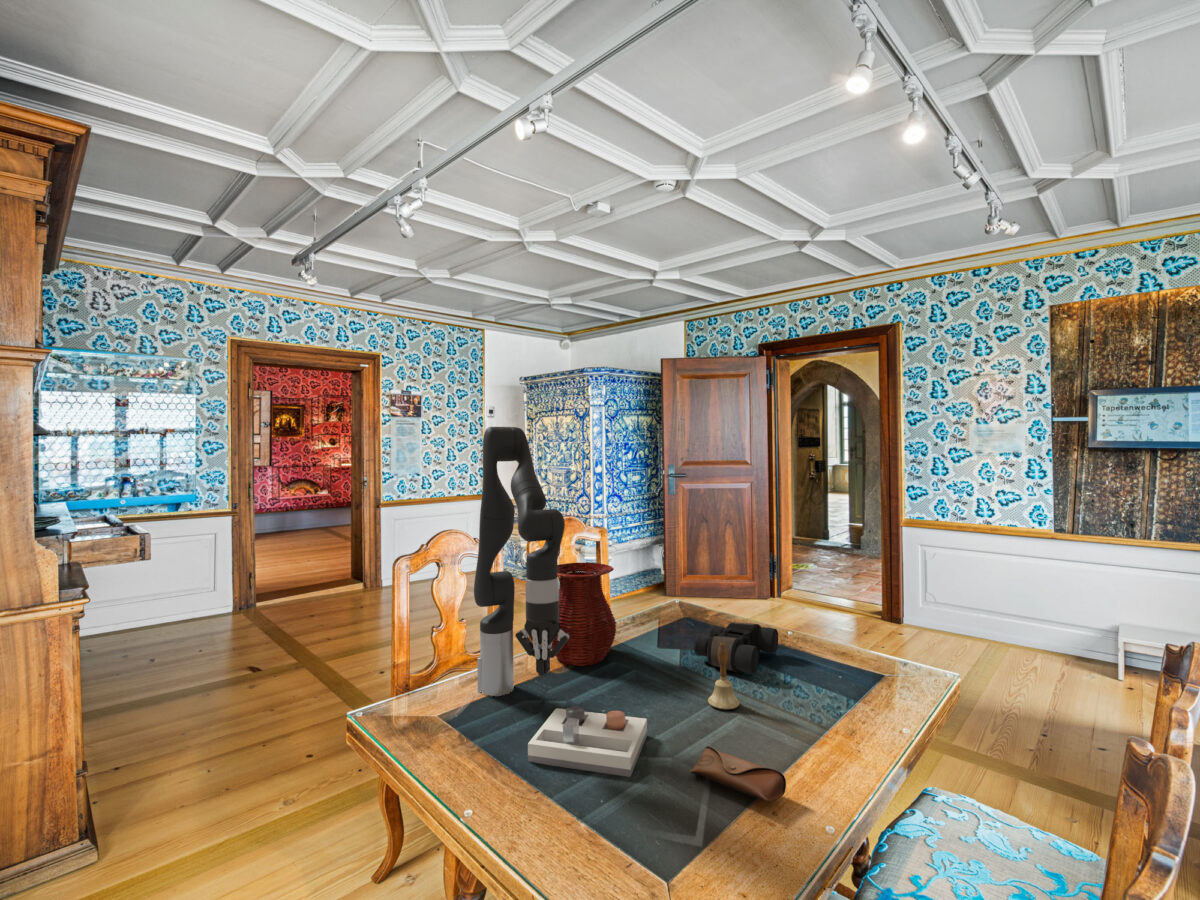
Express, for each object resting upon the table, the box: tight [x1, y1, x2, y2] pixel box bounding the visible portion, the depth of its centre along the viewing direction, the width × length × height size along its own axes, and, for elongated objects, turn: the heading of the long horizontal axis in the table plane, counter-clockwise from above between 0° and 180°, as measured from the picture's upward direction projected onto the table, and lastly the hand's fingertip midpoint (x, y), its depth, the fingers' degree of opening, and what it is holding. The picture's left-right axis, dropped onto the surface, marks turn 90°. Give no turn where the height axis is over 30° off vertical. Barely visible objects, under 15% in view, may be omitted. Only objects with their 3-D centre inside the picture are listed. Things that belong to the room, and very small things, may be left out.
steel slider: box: [563, 718, 579, 745], centre depth 126 cm, size 2×4×6 cm, turn 164°
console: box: [527, 708, 648, 778], centre depth 130 cm, size 23×18×4 cm
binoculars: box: [693, 621, 779, 675], centre depth 185 cm, size 29×20×10 cm
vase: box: [551, 562, 618, 667], centre depth 186 cm, size 23×24×30 cm
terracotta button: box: [605, 710, 626, 730], centre depth 133 cm, size 4×4×3 cm
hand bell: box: [707, 643, 740, 710], centre depth 153 cm, size 8×8×16 cm
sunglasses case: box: [688, 746, 787, 803], centre depth 115 cm, size 18×7×7 cm
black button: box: [565, 705, 585, 725], centre depth 136 cm, size 4×4×3 cm
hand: (543, 674), depth 128 cm, fingers closed
